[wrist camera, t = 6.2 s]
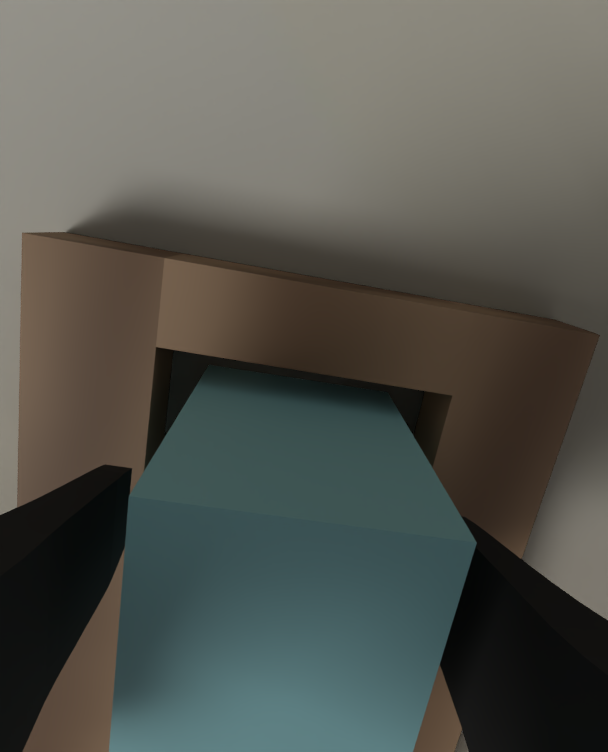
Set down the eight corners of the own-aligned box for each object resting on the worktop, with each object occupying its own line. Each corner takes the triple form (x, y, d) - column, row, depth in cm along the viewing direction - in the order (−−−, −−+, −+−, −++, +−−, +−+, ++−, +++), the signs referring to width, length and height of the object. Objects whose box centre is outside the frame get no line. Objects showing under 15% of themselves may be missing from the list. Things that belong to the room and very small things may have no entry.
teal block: (387, 391, 14) (476, 542, 7) (353, 544, 15) (401, 790, 9) (209, 364, 14) (128, 496, 7) (190, 522, 15) (108, 761, 8)
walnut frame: (555, 319, 13) (599, 335, 11) (390, 833, 19) (401, 901, 17) (63, 232, 12) (21, 232, 11) (40, 799, 18) (10, 867, 16)
